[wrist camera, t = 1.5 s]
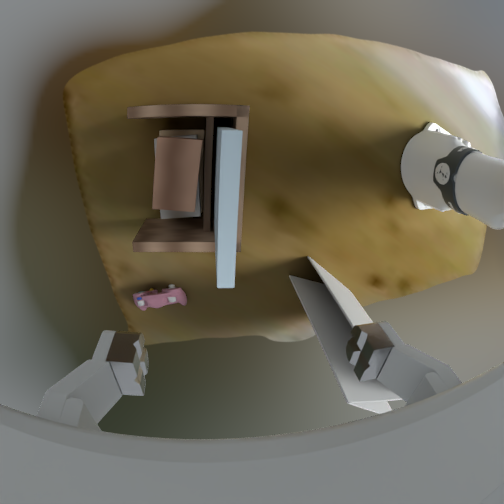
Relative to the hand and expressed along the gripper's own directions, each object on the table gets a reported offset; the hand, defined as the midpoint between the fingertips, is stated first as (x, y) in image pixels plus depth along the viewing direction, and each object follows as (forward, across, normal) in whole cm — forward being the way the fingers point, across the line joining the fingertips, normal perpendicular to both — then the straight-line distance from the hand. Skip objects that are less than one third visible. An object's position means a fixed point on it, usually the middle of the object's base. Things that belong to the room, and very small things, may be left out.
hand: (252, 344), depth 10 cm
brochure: (+39, -21, +22) cm, 49 cm away
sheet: (+39, 0, 0) cm, 39 cm away
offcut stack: (+39, +6, 0) cm, 39 cm away
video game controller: (+39, +11, +23) cm, 47 cm away
